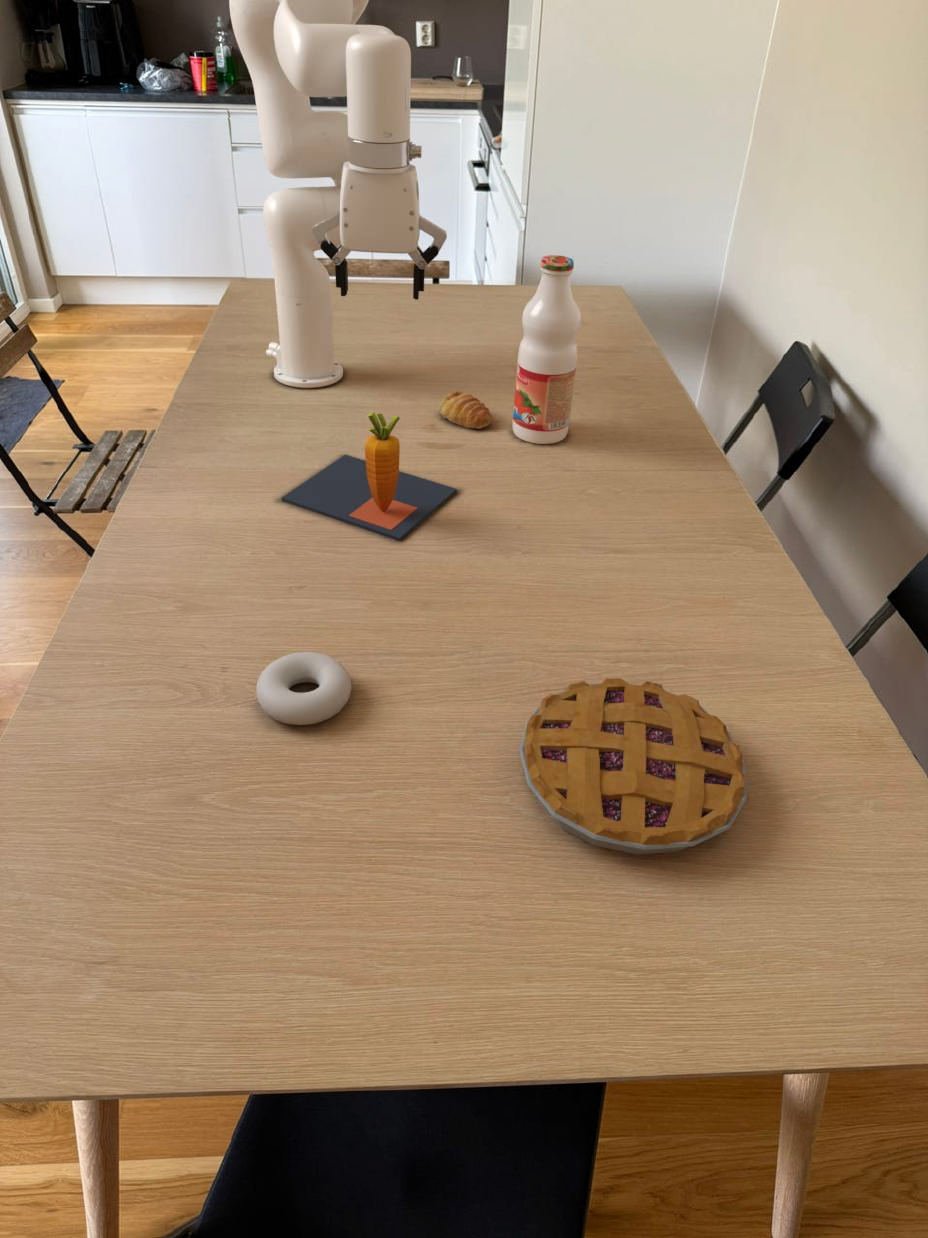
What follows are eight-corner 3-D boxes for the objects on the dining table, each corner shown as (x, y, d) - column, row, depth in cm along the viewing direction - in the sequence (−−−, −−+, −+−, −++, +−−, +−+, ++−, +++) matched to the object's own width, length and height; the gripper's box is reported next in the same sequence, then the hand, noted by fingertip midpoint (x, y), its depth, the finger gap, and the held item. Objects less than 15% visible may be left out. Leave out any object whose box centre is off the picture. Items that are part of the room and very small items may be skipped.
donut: (237, 708, 94) (311, 745, 90) (233, 683, 92) (308, 720, 88) (300, 658, 101) (371, 690, 97) (297, 634, 99) (369, 666, 94)
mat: (281, 500, 128) (281, 496, 127) (345, 457, 139) (345, 453, 139) (399, 540, 121) (399, 537, 120) (456, 491, 132) (457, 488, 132)
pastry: (501, 423, 151) (502, 402, 149) (473, 435, 147) (474, 414, 145) (462, 405, 156) (463, 385, 154) (434, 416, 152) (434, 395, 150)
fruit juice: (569, 446, 145) (592, 270, 128) (512, 444, 145) (527, 267, 128) (565, 421, 153) (586, 251, 136) (510, 419, 153) (524, 248, 136)
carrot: (406, 506, 127) (406, 407, 118) (392, 523, 123) (391, 422, 114) (374, 499, 128) (372, 401, 119) (360, 515, 124) (356, 415, 115)
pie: (516, 863, 79) (521, 826, 76) (517, 697, 97) (521, 662, 94) (762, 879, 79) (776, 843, 76) (718, 710, 96) (728, 675, 93)
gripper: (449, 151, 112) (444, 288, 123) (312, 143, 112) (319, 282, 122) (449, 164, 107) (444, 307, 117) (304, 156, 106) (312, 301, 116)
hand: (380, 294), depth 120 cm, fingers open, 9 cm apart
